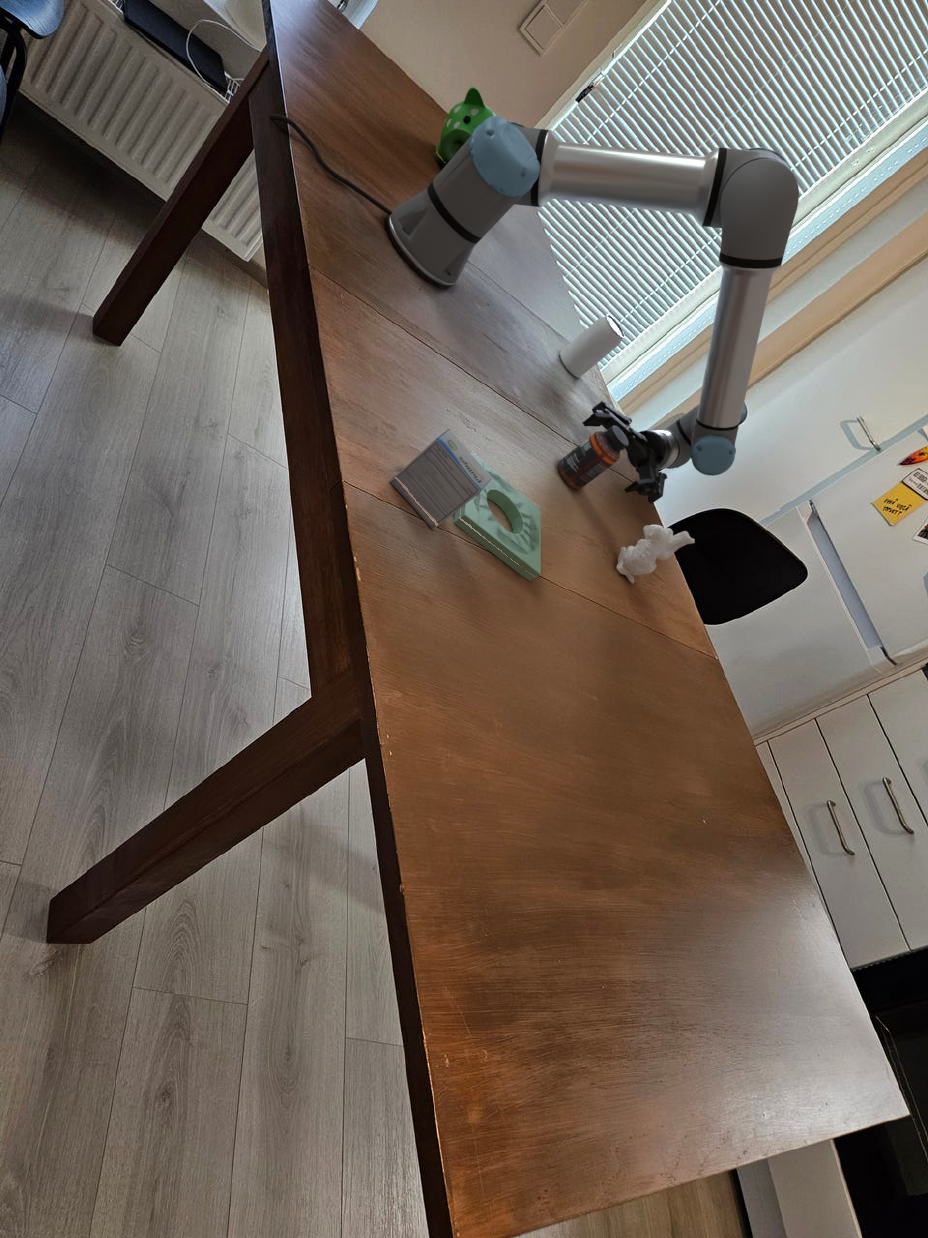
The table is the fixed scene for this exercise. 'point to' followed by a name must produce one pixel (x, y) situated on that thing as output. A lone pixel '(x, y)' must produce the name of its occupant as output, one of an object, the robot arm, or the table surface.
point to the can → (592, 345)
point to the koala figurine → (650, 550)
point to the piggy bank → (462, 124)
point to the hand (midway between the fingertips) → (610, 453)
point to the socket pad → (523, 519)
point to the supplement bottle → (592, 457)
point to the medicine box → (442, 478)
